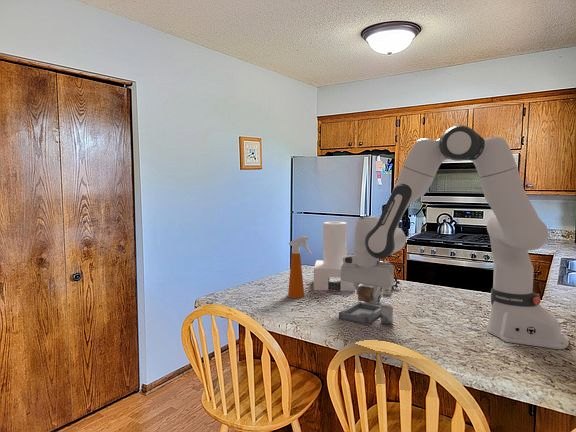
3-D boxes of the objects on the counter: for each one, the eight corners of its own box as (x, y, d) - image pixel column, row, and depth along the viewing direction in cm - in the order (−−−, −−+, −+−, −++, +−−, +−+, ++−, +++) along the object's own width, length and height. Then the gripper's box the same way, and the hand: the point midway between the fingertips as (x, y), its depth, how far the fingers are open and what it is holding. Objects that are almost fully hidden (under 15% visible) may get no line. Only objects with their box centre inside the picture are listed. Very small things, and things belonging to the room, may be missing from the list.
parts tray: (385, 312, 149) (385, 306, 148) (367, 324, 136) (367, 318, 136) (358, 307, 155) (358, 301, 155) (338, 318, 142) (338, 312, 142)
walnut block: (374, 299, 148) (374, 286, 148) (369, 302, 145) (369, 289, 144) (363, 297, 151) (363, 284, 150) (358, 300, 147) (358, 287, 147)
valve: (393, 296, 170) (399, 289, 180) (393, 281, 169) (400, 275, 180) (377, 294, 173) (385, 287, 184) (378, 279, 173) (385, 273, 183)
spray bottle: (310, 299, 165) (310, 237, 163) (285, 297, 168) (285, 236, 166) (314, 295, 172) (314, 235, 169) (291, 293, 175) (290, 234, 173)
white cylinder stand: (316, 279, 199) (316, 220, 196) (354, 280, 196) (354, 221, 194) (313, 289, 181) (313, 224, 178) (355, 291, 178) (355, 225, 175)
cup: (383, 305, 156) (383, 281, 156) (362, 304, 158) (362, 280, 157) (382, 299, 164) (382, 276, 163) (362, 298, 166) (363, 275, 165)
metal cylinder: (394, 323, 137) (394, 306, 137) (390, 326, 134) (390, 309, 134) (383, 320, 140) (383, 304, 139) (378, 324, 136) (379, 307, 136)
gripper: (397, 261, 143) (396, 298, 144) (346, 255, 155) (346, 289, 156) (390, 264, 138) (389, 302, 139) (338, 257, 150) (338, 293, 151)
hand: (366, 295), depth 148 cm, fingers closed on walnut block, 4 cm apart
